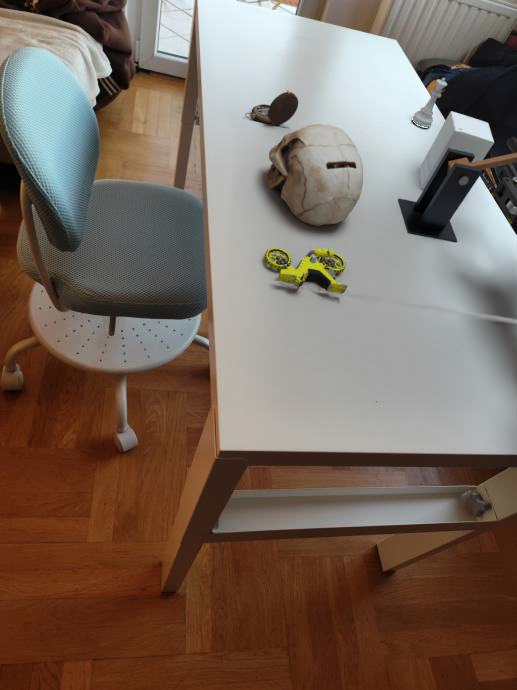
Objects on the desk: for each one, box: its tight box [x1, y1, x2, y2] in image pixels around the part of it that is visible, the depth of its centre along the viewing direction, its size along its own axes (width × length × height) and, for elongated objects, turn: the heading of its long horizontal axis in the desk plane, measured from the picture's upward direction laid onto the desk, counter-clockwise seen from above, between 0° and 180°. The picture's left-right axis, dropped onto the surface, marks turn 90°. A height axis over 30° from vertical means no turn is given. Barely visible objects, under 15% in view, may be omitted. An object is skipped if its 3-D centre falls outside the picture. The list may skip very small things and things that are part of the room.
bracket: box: [397, 148, 483, 244], centre depth 79 cm, size 9×9×13 cm
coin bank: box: [266, 123, 364, 227], centre depth 76 cm, size 16×17×13 cm
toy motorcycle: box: [263, 247, 349, 294], centre depth 67 cm, size 12×4×7 cm
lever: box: [447, 136, 517, 175], centre depth 75 cm, size 11×9×2 cm
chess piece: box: [412, 77, 448, 127], centre depth 104 cm, size 4×4×10 cm
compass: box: [244, 89, 299, 127], centre depth 90 cm, size 8×8×7 cm
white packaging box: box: [418, 110, 495, 191], centre depth 87 cm, size 7×7×13 cm
